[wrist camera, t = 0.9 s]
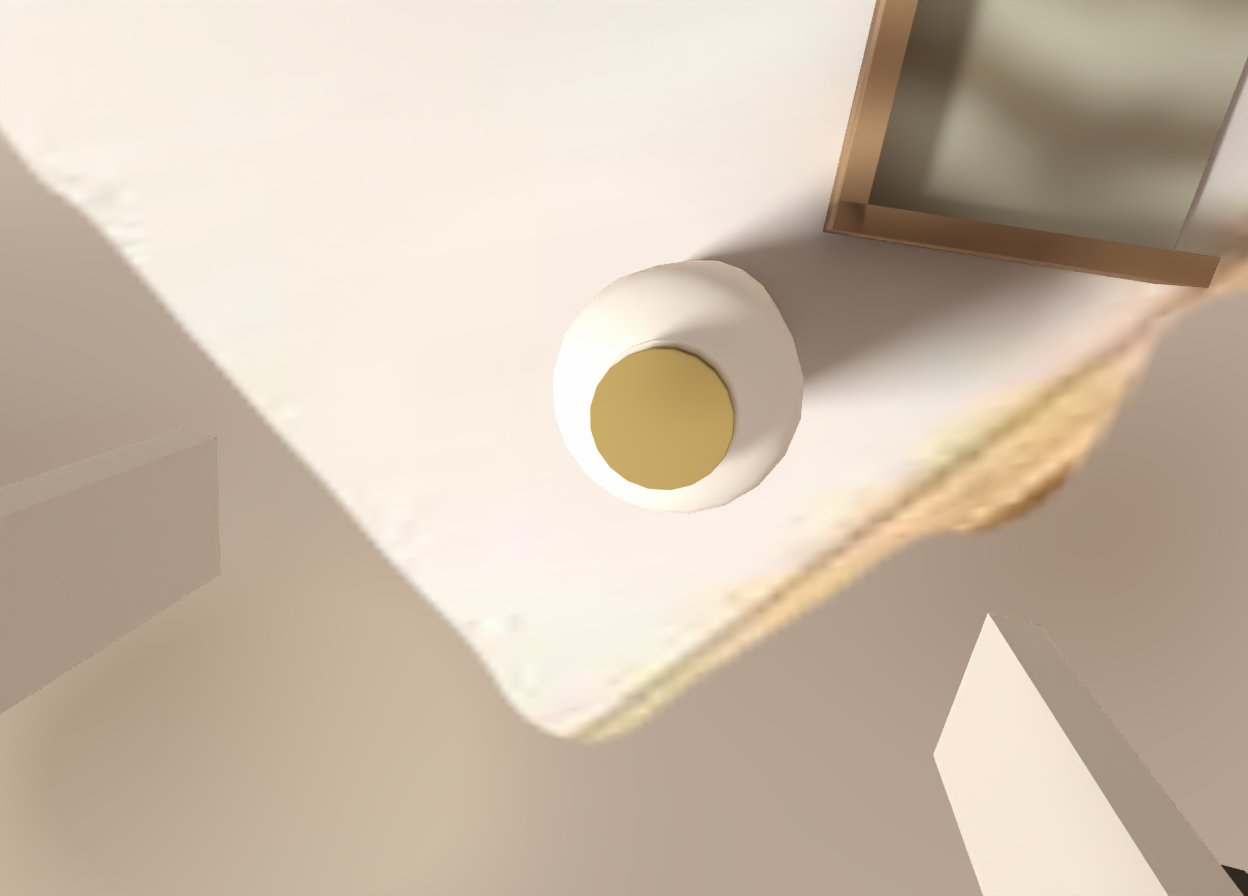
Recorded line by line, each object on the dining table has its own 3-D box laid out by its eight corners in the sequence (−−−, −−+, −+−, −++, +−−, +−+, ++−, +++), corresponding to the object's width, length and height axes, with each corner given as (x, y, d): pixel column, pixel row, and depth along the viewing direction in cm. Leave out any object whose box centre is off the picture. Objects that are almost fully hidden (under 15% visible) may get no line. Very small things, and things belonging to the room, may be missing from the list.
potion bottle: (800, 274, 34) (850, 297, 17) (763, 431, 37) (776, 587, 20) (638, 246, 35) (535, 242, 18) (613, 401, 38) (502, 525, 21)
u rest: (897, -91, 30) (919, -141, 26) (1280, -52, 28) (1365, -101, 24) (822, 231, 34) (832, 228, 30) (1153, 283, 32) (1208, 288, 28)
